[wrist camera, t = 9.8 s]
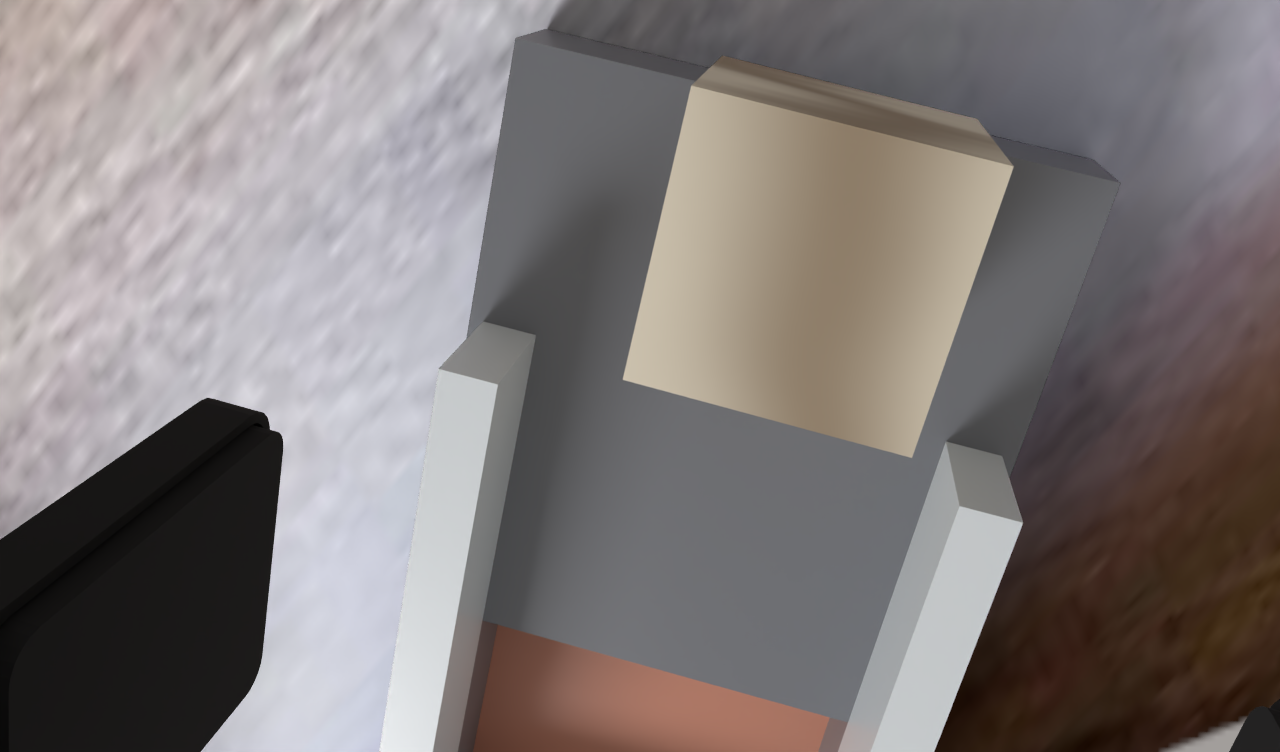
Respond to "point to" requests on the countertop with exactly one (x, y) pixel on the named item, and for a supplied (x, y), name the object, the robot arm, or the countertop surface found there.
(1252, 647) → the countertop surface
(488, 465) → the gray tray
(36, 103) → the countertop surface
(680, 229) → the block
